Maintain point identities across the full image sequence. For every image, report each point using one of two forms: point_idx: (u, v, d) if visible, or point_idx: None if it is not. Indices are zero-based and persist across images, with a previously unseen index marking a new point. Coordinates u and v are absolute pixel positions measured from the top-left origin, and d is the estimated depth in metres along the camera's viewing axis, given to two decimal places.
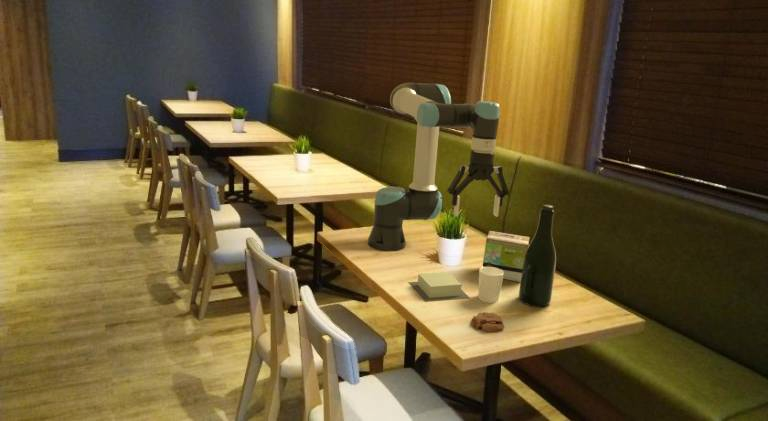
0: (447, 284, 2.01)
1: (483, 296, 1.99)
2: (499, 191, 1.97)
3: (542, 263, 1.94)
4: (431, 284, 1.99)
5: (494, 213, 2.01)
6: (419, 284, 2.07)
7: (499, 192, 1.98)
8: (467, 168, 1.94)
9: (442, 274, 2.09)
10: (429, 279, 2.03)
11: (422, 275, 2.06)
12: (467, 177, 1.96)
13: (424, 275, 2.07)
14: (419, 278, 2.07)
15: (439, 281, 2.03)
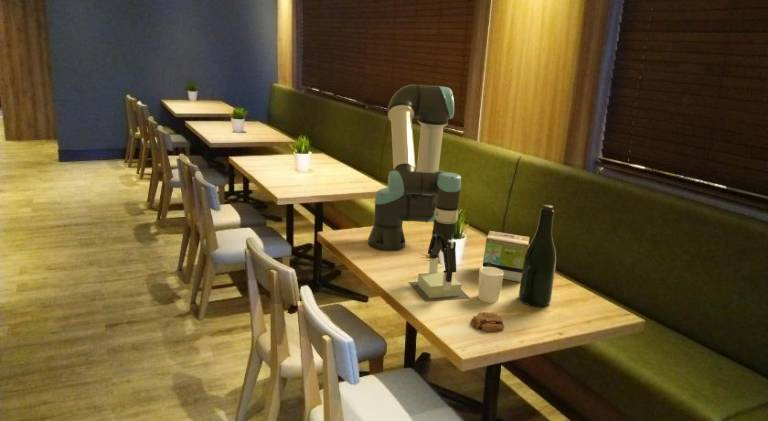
0: None
1: (483, 296, 1.99)
2: (445, 265, 1.97)
3: (542, 263, 1.94)
4: (431, 284, 1.99)
5: None
6: (419, 284, 2.07)
7: (445, 266, 1.97)
8: (437, 233, 2.05)
9: (442, 274, 2.09)
10: (429, 279, 2.03)
11: (422, 275, 2.06)
12: None
13: (424, 275, 2.07)
14: (419, 278, 2.07)
15: (439, 281, 2.03)
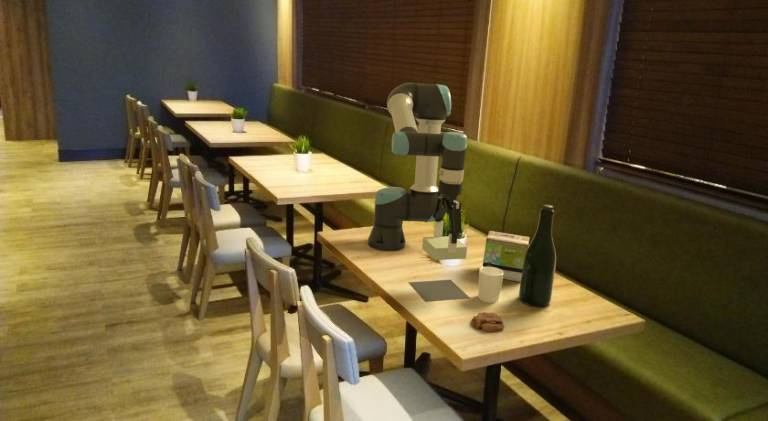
0: None
1: (483, 296, 1.99)
2: (450, 227, 1.93)
3: (542, 263, 1.94)
4: (436, 246, 1.96)
5: None
6: (424, 248, 2.04)
7: (450, 228, 1.93)
8: (442, 195, 2.01)
9: (448, 238, 2.05)
10: (433, 242, 2.00)
11: (427, 238, 2.03)
12: None
13: (428, 238, 2.03)
14: (424, 241, 2.03)
15: (444, 244, 1.99)
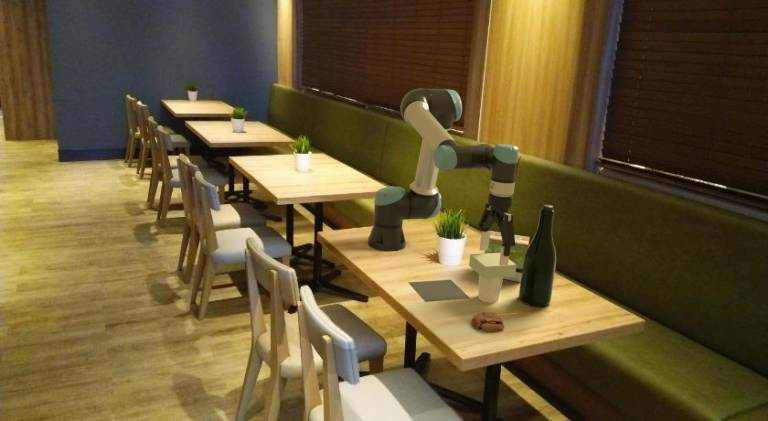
0: None
1: (483, 296, 1.99)
2: (503, 239, 1.89)
3: (542, 263, 1.94)
4: (485, 264, 1.93)
5: None
6: (471, 265, 2.01)
7: (503, 240, 1.89)
8: (490, 207, 1.98)
9: (495, 255, 2.02)
10: (482, 260, 1.97)
11: (474, 256, 2.00)
12: None
13: (476, 256, 2.00)
14: (471, 259, 2.01)
15: (493, 261, 1.96)
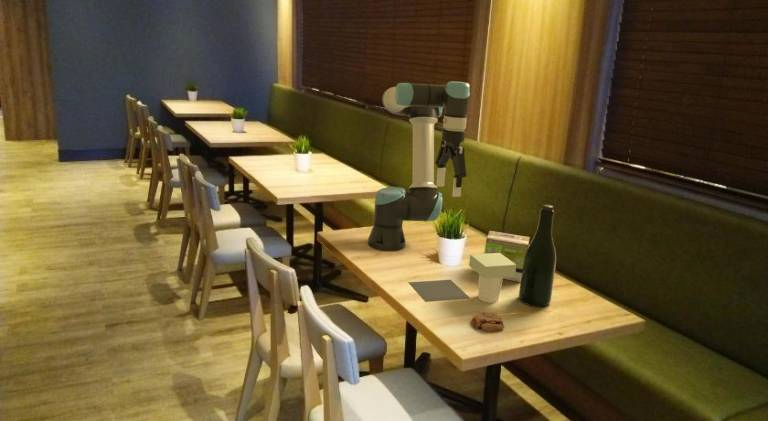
0: (501, 264, 1.95)
1: (483, 296, 1.99)
2: (455, 171, 2.00)
3: (542, 263, 1.94)
4: (485, 264, 1.93)
5: None
6: (471, 265, 2.01)
7: (455, 172, 2.00)
8: None
9: (495, 255, 2.02)
10: (482, 260, 1.97)
11: (474, 256, 2.00)
12: None
13: (476, 256, 2.00)
14: (471, 259, 2.01)
15: (493, 261, 1.96)
